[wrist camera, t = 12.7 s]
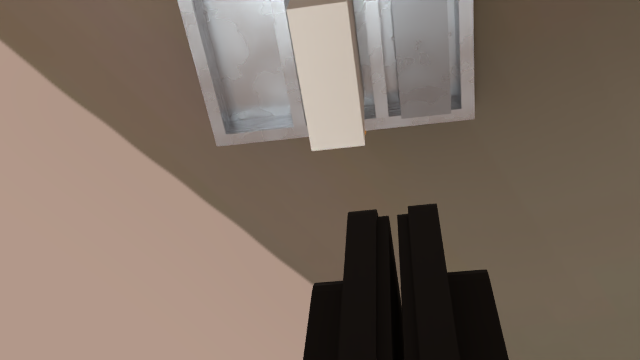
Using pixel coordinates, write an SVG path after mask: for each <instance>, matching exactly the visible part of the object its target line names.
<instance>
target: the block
mask: <svg viewBox="0 0 640 360" xmlns="http://www.w3.org/2000/svg"><path fill="white" fill-rule="evenodd" d="M286 11H287V16H288V22H289V27H290V33H291V39H292V44H293V50H294V55H295V61H296V66H297V72H298V78H299V83H300V89H301V94H302V100H303V105H304V111H305V117H306V122H307V128H308V133H309V139H310V144H311V150H312V151H317V150H326V149H336V148H345V147H355V146H364V145H365V119H364V90H363V81H362V73H361V65H360V56H359V48H358V40H357V31H356V23H355V15H354V7H353V0H290V1H289V4H288V6H287V9H286Z"/></svg>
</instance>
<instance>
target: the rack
mask: <svg viewBox="0 0 640 360" xmlns="http://www.w3.org/2000/svg"><path fill="white" fill-rule="evenodd" d="M177 1H178V5H179V8H180V12H181V16H182V19H183V23H184V27H185V30H186V34H187V38H188V41H189V45H190V49H191V53H192V56H193V60H194V64H195V67H196V71H197V75H198V78H199V82H200V86H201V89H202V93H203V97H204V100H205V104H206V108H207V112H208V115H209V119H210V123H211V126H212V130H213V134H214V137H215V141H216V145H217V146H226V145H236V144H245V143H254V142H264V141H273V140H283V139H292V138H301V137H309V133H308V128H307V122H306V117H305V111H304V105H303V100H302V94H301V89H300V83H299V78H298V72H297V66H296V61H295V55H294V50H293V44H292V39H291V33H290V27H289V22H288V16H287V11H286V9H287V6H288V4H289V1H290V0H177ZM353 7H354V15H355V23H356V31H357V40H358V48H359V56H360V65H361V73H362V81H363V90H364V119H365V134H366V131H367V130H376V129H386V128H395V127H405V126H414V125H423V124H433V123H442V122H451V121H461V120H470V119H475V101H474V27H473V0H353Z"/></svg>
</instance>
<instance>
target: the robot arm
mask: <svg viewBox="0 0 640 360" xmlns="http://www.w3.org/2000/svg"><path fill="white" fill-rule="evenodd" d="M397 219H398V239H399V259H400V278H401V298H402V305H401V298H400V291H399V284H398V277H397V270H396V263H395V256H394V249H393V242H392V235H391V228H390V221H389V216H381V217H378V213H377V210H376V209H375V210H365V211H355V212H349V213H348V219H347V233H346V248H345V262H344V277H343V281H335V282H322V283H315V284H314V286H313V290H312V296H311V303H310V311H309V319H308V327H307V335H306V342H305V349H304V357H303V360H509V359H508V355H507V351H506V346H505V342H504V338H503V334H502V329H501V325H500V321H499V317H498V312H497V308H496V304H495V300H494V296H493V291H492V287H491V283H490V279H489V275H488V272H487V270H473V271H461V272H448V273H447V269H446V263H445V256H444V249H443V242H442V236H441V229H440V222H439V216H438V209H437V204H426V205H416V206H408V214H402V215H397Z"/></svg>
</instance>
